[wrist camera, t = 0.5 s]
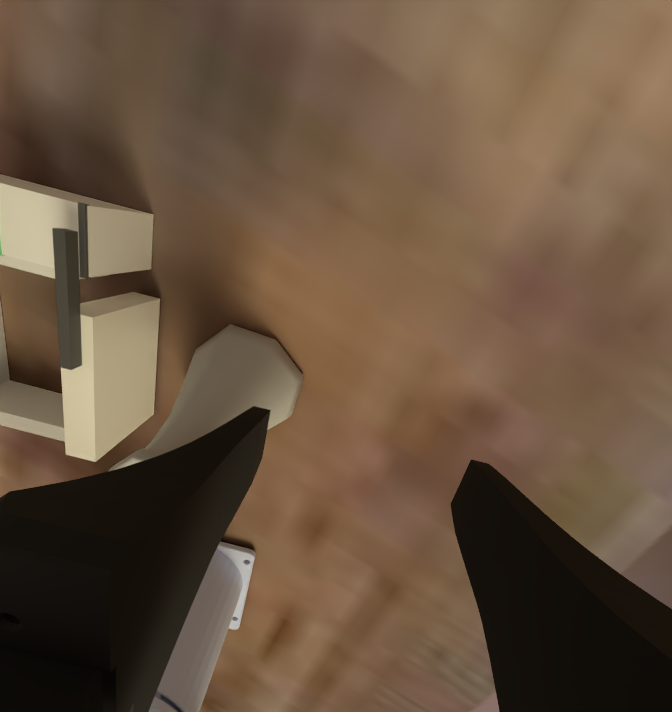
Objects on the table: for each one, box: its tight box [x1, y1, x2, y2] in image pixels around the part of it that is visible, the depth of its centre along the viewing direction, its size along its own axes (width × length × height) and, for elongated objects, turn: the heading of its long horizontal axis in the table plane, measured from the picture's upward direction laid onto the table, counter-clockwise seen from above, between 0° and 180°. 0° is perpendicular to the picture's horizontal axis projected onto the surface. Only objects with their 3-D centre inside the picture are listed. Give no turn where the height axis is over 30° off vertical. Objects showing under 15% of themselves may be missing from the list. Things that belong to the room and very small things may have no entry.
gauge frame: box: [0, 174, 154, 442], centre depth 17 cm, size 14×12×6 cm
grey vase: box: [108, 324, 304, 471], centre depth 16 cm, size 7×7×10 cm
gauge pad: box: [52, 228, 160, 462], centre depth 17 cm, size 12×2×6 cm, turn 166°
